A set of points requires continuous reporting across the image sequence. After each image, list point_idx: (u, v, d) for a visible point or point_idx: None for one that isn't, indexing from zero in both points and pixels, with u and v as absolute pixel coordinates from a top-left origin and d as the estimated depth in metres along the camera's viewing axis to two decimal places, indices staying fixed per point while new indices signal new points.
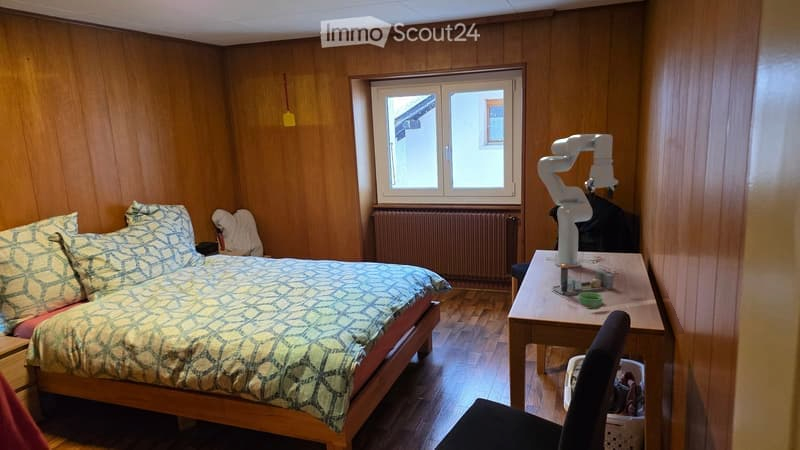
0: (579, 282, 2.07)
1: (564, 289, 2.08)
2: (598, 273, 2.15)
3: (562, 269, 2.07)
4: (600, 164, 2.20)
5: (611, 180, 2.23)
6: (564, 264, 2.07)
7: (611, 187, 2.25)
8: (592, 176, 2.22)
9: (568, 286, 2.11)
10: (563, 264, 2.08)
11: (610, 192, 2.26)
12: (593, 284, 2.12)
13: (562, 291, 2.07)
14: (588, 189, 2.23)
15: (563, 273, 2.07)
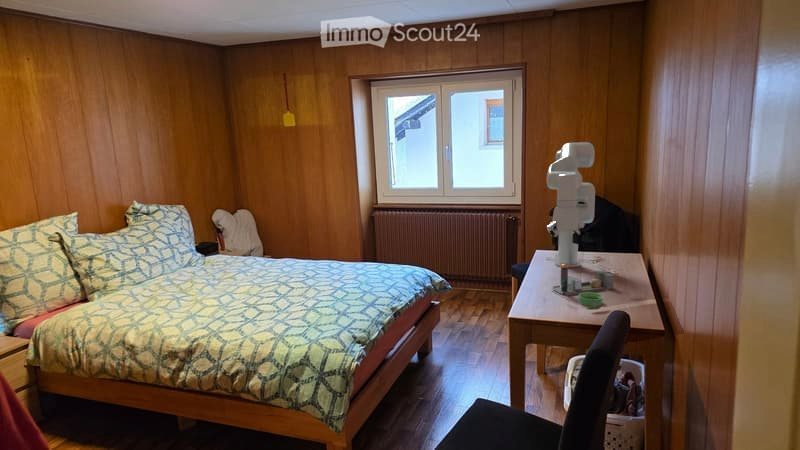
0: (579, 282, 2.07)
1: (564, 289, 2.08)
2: (598, 273, 2.15)
3: (562, 269, 2.07)
4: (563, 206, 2.00)
5: (576, 223, 2.03)
6: (564, 264, 2.07)
7: (576, 231, 2.04)
8: (555, 219, 2.03)
9: (568, 286, 2.11)
10: (563, 264, 2.08)
11: (575, 236, 2.05)
12: (593, 284, 2.12)
13: (562, 291, 2.07)
14: (551, 233, 2.03)
15: (563, 273, 2.07)
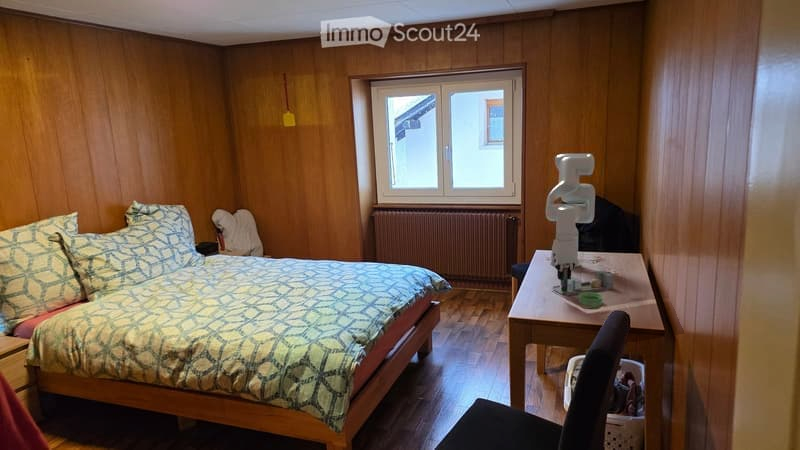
0: (579, 282, 2.07)
1: (564, 289, 2.08)
2: (598, 273, 2.15)
3: None
4: (562, 240, 2.02)
5: (575, 256, 2.05)
6: (564, 264, 2.07)
7: (570, 265, 2.07)
8: (554, 252, 2.05)
9: (568, 286, 2.11)
10: (563, 264, 2.08)
11: (568, 271, 2.08)
12: (593, 284, 2.12)
13: (562, 291, 2.07)
14: (556, 268, 2.06)
15: None
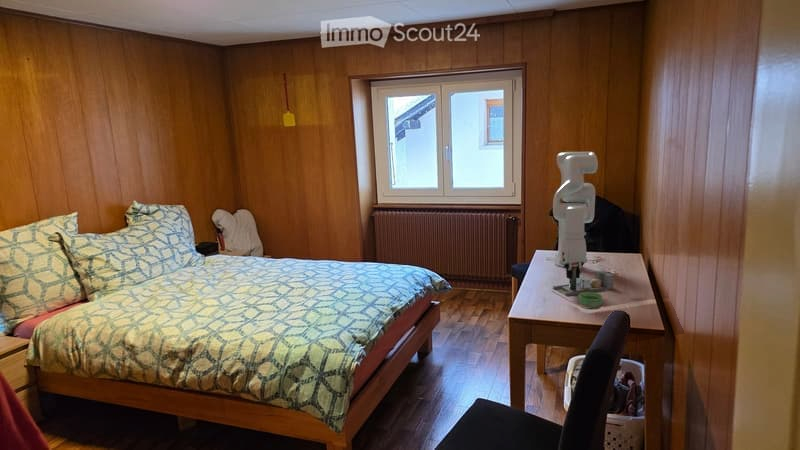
0: (588, 281, 2.08)
1: (573, 288, 2.09)
2: (598, 273, 2.15)
3: (571, 268, 2.08)
4: (571, 239, 2.03)
5: (584, 255, 2.07)
6: (573, 263, 2.09)
7: (579, 264, 2.08)
8: (563, 251, 2.06)
9: (577, 285, 2.12)
10: (572, 263, 2.09)
11: (577, 270, 2.09)
12: (593, 284, 2.12)
13: (571, 290, 2.08)
14: (565, 267, 2.08)
15: (572, 272, 2.08)
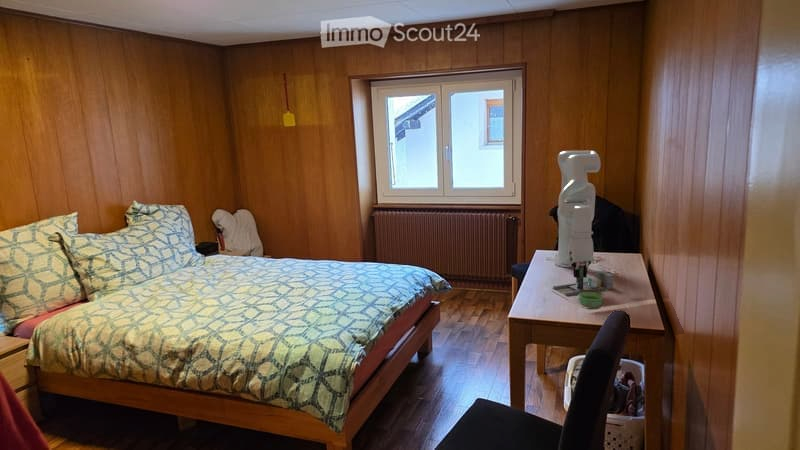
0: (595, 280, 2.09)
1: (580, 287, 2.10)
2: (598, 273, 2.15)
3: None
4: (579, 238, 2.04)
5: (591, 254, 2.08)
6: (580, 262, 2.10)
7: (586, 263, 2.09)
8: (570, 250, 2.07)
9: (584, 284, 2.13)
10: (579, 262, 2.10)
11: (584, 269, 2.10)
12: None
13: (578, 289, 2.09)
14: (572, 266, 2.08)
15: None
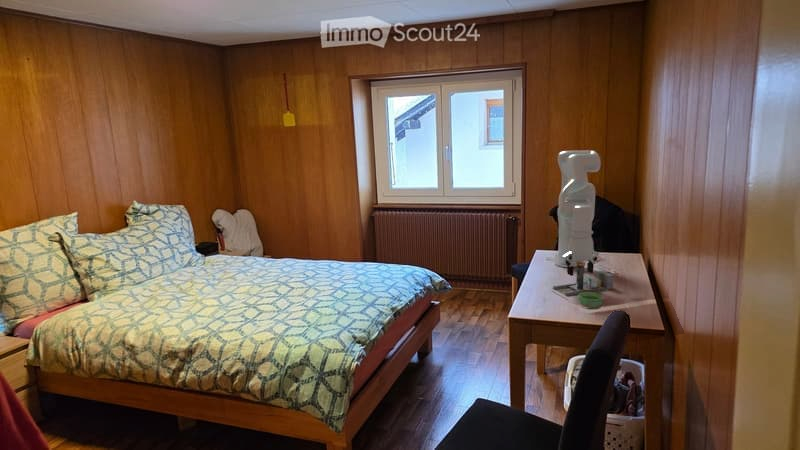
0: (595, 280, 2.09)
1: (580, 287, 2.10)
2: (598, 273, 2.15)
3: (578, 267, 2.09)
4: (579, 237, 2.04)
5: (591, 253, 2.08)
6: (580, 262, 2.10)
7: (591, 260, 2.09)
8: (570, 250, 2.07)
9: (584, 284, 2.13)
10: (579, 262, 2.10)
11: (590, 265, 2.10)
12: None
13: (578, 289, 2.09)
14: (566, 263, 2.08)
15: (579, 271, 2.09)
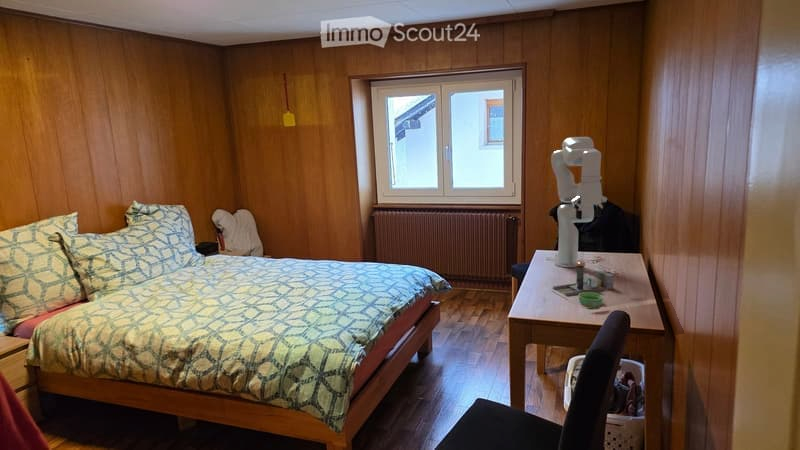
0: (595, 280, 2.09)
1: (580, 287, 2.10)
2: (598, 273, 2.15)
3: (578, 267, 2.09)
4: (588, 182, 2.12)
5: (599, 198, 2.15)
6: (580, 262, 2.10)
7: (599, 205, 2.17)
8: (579, 194, 2.15)
9: (584, 284, 2.13)
10: (579, 262, 2.10)
11: (598, 210, 2.18)
12: None
13: (578, 289, 2.09)
14: (575, 207, 2.15)
15: (579, 271, 2.09)
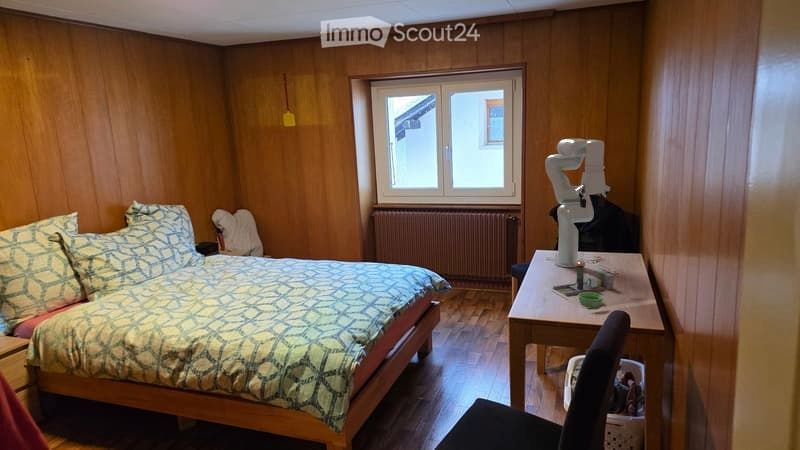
0: (595, 280, 2.09)
1: (580, 287, 2.10)
2: (598, 273, 2.15)
3: (578, 267, 2.09)
4: (591, 171, 2.17)
5: (603, 187, 2.20)
6: (580, 262, 2.10)
7: (603, 194, 2.21)
8: (583, 183, 2.19)
9: (584, 284, 2.13)
10: (579, 262, 2.10)
11: (602, 199, 2.23)
12: None
13: (578, 289, 2.09)
14: (579, 196, 2.20)
15: (579, 271, 2.09)
